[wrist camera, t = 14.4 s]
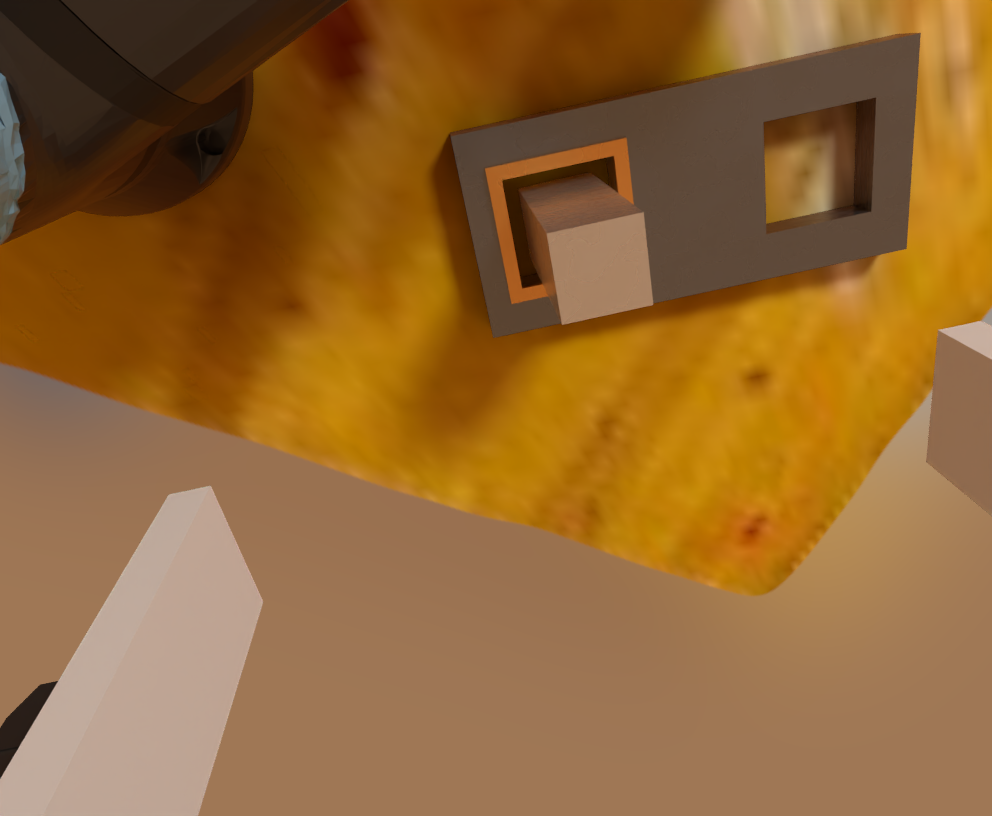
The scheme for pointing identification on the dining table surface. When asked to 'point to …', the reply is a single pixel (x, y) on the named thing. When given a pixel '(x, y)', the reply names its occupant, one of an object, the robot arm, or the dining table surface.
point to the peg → (586, 247)
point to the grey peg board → (705, 173)
